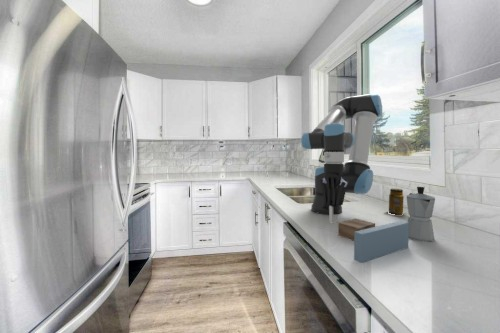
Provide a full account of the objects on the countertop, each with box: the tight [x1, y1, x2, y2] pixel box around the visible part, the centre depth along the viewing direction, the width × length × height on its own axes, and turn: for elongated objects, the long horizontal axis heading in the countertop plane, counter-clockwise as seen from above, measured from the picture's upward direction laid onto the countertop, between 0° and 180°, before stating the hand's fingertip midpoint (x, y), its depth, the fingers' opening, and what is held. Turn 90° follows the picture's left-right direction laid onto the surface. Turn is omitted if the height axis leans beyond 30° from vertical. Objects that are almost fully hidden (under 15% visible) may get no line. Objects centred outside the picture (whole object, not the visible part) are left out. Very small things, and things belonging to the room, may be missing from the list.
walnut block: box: [337, 218, 376, 241], centre depth 89 cm, size 10×8×5 cm
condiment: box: [383, 188, 404, 217], centre depth 119 cm, size 7×8×12 cm
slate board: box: [353, 220, 409, 263], centre depth 74 cm, size 22×2×8 cm, turn 118°
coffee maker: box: [406, 186, 436, 243], centre depth 87 cm, size 15×9×18 cm, turn 168°
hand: (333, 221), depth 98 cm, fingers closed
